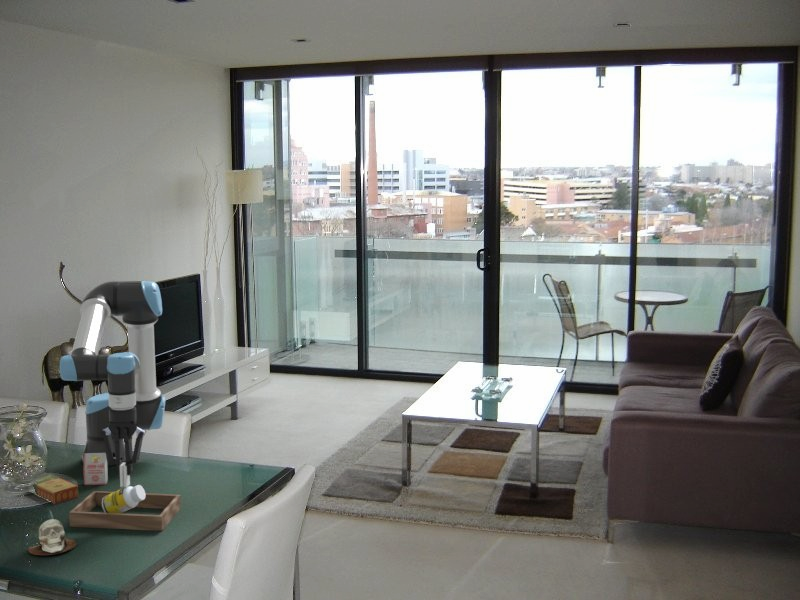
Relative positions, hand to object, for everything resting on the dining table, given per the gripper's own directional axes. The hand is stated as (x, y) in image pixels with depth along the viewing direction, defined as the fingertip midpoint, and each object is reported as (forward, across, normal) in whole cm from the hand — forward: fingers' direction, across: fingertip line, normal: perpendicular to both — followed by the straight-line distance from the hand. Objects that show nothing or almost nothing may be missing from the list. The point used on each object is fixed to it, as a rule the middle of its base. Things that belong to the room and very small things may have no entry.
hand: (125, 485), depth 254 cm
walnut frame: (+10, 0, 0) cm, 10 cm away
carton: (+10, -29, +16) cm, 35 cm away
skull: (+10, -12, -22) cm, 27 cm away
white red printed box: (+10, -20, +27) cm, 35 cm away
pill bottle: (+7, -6, 0) cm, 9 cm away
